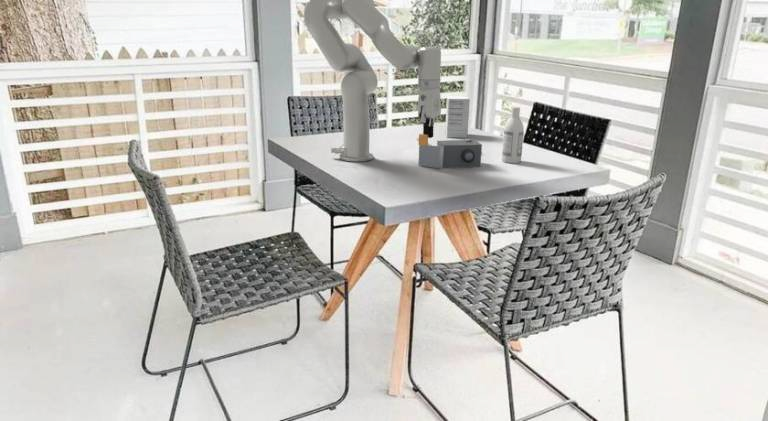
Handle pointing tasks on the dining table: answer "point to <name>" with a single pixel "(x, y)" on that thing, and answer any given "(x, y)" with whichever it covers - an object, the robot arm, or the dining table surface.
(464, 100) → the supplement box
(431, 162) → the side door
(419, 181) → the dining table surface
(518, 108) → the bath foam
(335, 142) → the dining table surface
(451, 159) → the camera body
